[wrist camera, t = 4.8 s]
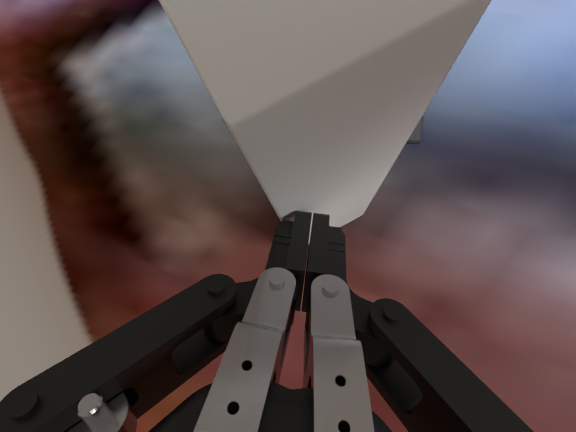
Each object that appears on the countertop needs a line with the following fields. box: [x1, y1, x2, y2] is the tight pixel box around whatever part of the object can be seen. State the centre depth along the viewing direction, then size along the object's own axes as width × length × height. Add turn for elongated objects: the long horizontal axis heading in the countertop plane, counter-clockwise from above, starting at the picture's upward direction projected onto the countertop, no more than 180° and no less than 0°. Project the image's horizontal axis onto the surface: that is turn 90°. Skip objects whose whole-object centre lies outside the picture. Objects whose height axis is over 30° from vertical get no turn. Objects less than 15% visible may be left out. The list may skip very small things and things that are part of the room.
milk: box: [159, 0, 491, 244], centre depth 14 cm, size 6×6×22 cm
